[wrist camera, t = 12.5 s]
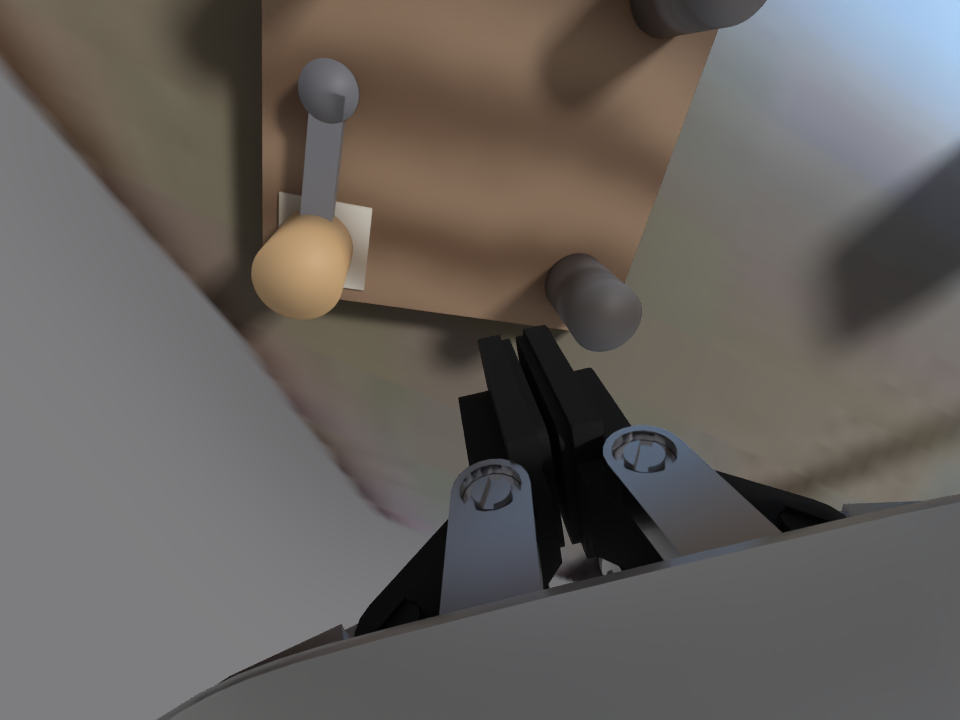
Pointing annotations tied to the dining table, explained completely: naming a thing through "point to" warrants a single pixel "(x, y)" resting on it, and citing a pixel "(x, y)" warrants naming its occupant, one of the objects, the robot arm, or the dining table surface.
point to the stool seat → (492, 146)
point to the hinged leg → (313, 206)
